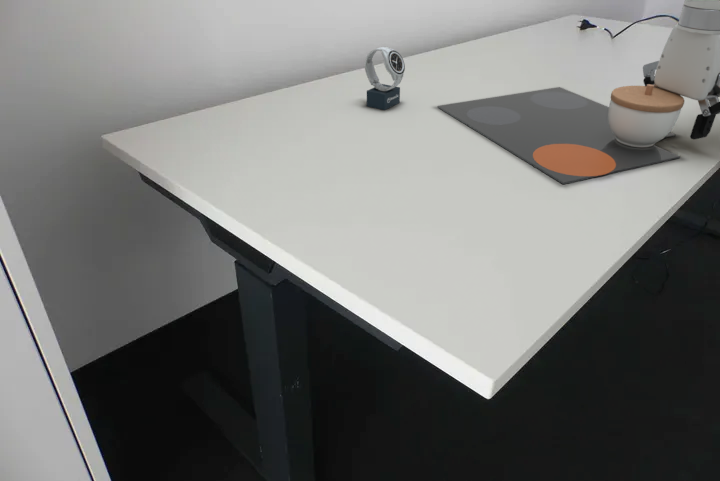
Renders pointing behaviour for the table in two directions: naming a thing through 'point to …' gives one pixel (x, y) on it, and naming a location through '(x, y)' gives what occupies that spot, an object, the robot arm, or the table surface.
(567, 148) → the front ring
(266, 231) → the table surface
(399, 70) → the watch
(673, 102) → the trinket box
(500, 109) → the hob
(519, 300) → the table surface
